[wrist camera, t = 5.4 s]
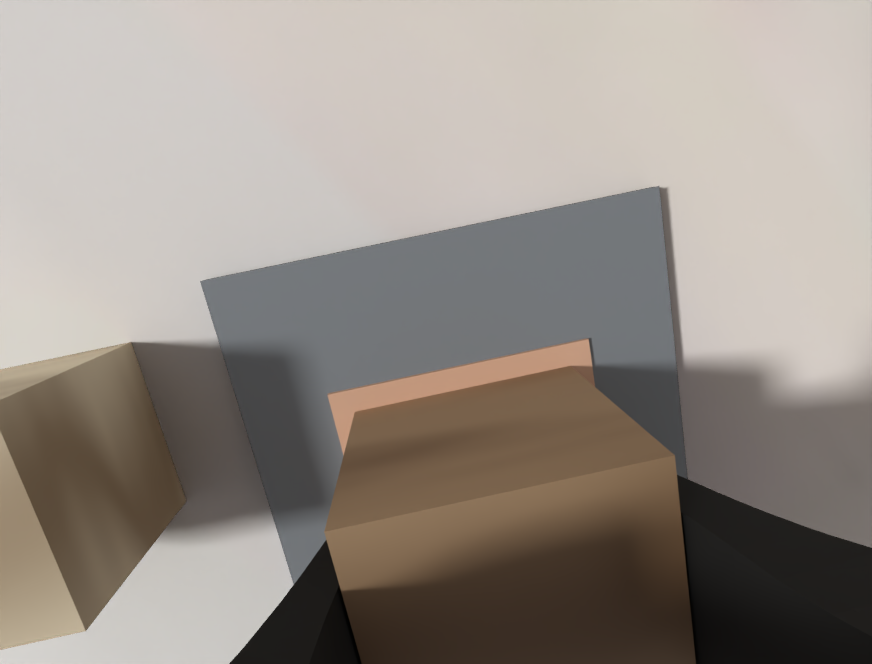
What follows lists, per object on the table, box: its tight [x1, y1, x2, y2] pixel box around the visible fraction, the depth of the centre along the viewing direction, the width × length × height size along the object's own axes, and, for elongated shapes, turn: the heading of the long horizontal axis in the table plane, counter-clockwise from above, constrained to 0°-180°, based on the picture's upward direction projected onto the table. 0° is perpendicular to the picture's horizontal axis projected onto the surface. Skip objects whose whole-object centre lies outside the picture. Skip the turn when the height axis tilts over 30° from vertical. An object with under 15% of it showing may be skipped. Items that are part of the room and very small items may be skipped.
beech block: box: [0, 342, 186, 650], centre depth 10 cm, size 4×4×4 cm
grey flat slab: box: [200, 186, 687, 584], centre depth 12 cm, size 12×10×1 cm
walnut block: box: [324, 366, 696, 664], centre depth 10 cm, size 5×5×4 cm
